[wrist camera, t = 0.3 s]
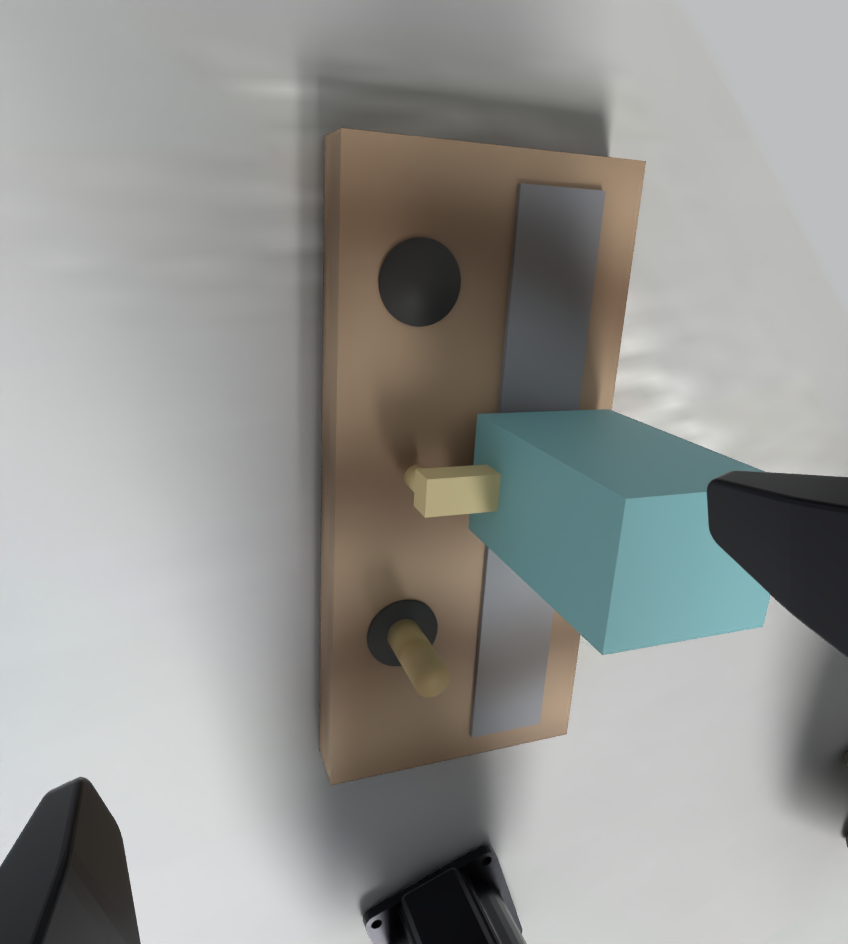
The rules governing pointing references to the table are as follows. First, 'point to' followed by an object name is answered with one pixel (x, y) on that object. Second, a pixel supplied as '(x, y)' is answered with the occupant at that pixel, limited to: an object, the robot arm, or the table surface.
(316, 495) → the table surface
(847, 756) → the tabletop clock
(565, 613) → the block
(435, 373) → the board
